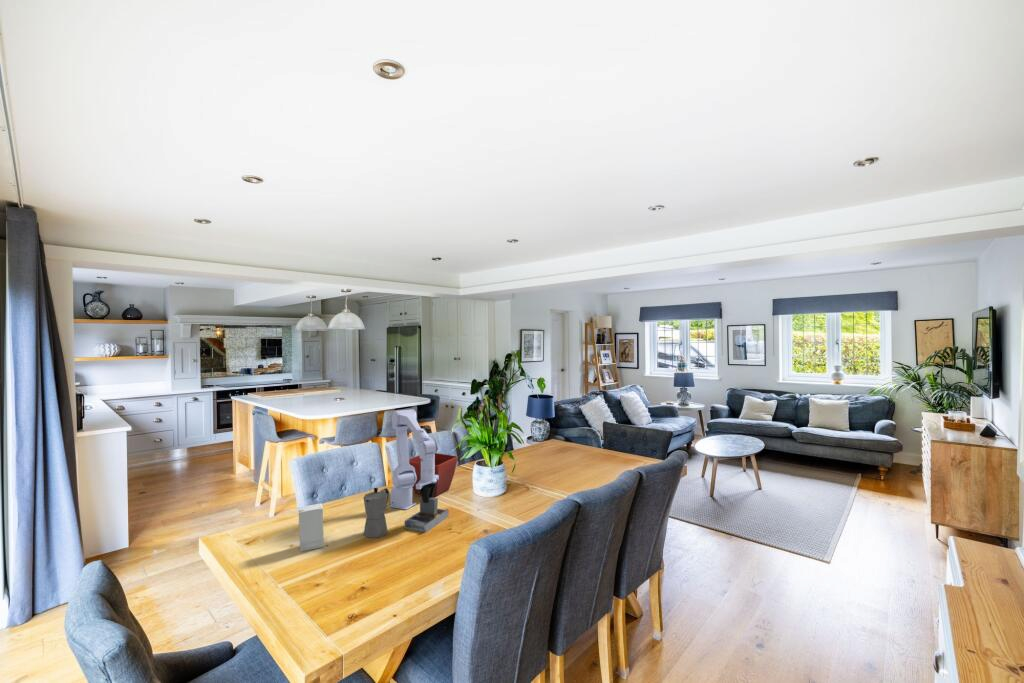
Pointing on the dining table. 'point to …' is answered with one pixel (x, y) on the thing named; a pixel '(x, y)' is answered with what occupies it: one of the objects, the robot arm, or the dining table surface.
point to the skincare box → (311, 527)
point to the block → (429, 506)
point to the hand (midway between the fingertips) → (427, 501)
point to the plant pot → (437, 471)
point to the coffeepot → (375, 513)
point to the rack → (425, 520)
